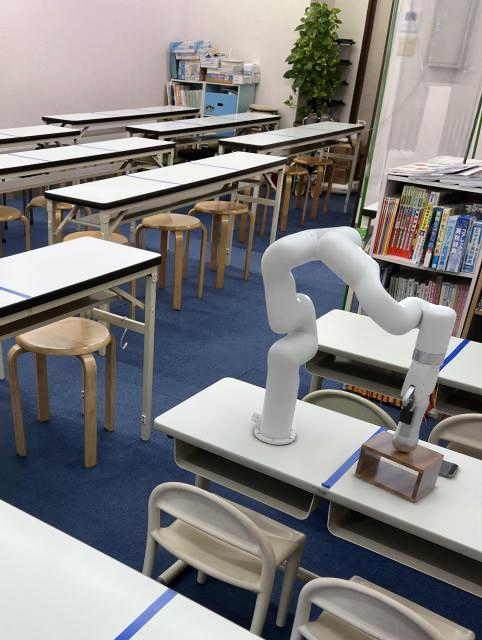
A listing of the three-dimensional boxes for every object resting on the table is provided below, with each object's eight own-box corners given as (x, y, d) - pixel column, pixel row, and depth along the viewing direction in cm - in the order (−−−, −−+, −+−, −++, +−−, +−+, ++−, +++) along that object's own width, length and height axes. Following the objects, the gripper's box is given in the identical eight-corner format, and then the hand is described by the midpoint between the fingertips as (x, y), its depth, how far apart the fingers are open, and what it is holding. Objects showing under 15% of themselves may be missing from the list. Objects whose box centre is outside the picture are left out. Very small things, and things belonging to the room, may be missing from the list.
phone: (458, 467, 201) (403, 449, 209) (459, 464, 201) (404, 447, 209) (451, 478, 196) (395, 460, 204) (452, 476, 196) (396, 457, 203)
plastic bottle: (417, 456, 185) (437, 389, 175) (391, 453, 186) (409, 385, 176) (413, 445, 191) (433, 378, 181) (388, 441, 192) (406, 375, 182)
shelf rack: (354, 475, 196) (362, 443, 190) (375, 461, 203) (383, 430, 198) (414, 503, 185) (424, 470, 180) (434, 486, 192) (444, 454, 187)
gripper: (430, 343, 182) (413, 403, 191) (398, 359, 171) (382, 423, 181) (458, 351, 177) (439, 413, 187) (427, 369, 167) (409, 434, 176)
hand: (411, 417), depth 184 cm, fingers open, 7 cm apart
